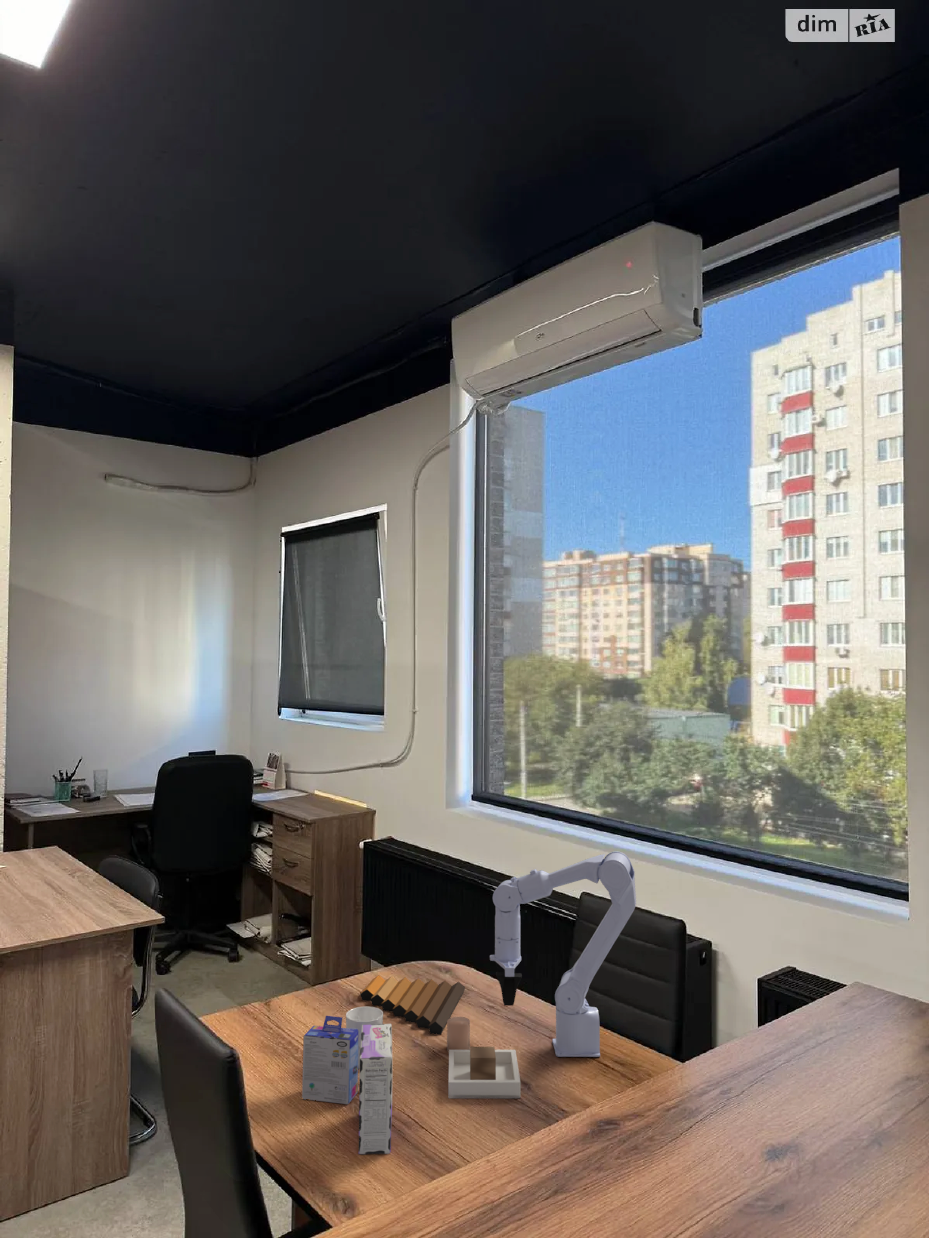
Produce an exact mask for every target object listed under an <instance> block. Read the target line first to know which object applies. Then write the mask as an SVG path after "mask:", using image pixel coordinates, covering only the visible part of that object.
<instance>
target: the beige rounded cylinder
mask: <svg viewBox="0 0 929 1238" xmlns="http://www.w3.org/2000/svg"><path fill="white" fill-rule="evenodd" d="M470 1047H471V1020H470V1019H469V1018H467V1017H466V1016H465V1017H464V1016H453V1017H452V1016H451V1017H450V1019H448V1020H447V1024H446V1051H447V1052H448V1053H449V1050H470Z"/></svg>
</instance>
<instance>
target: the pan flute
mask: <svg viewBox="0 0 929 1238" xmlns="http://www.w3.org/2000/svg"><path fill="white" fill-rule="evenodd" d="M465 989H466V986H465V985H464V984H462V983H461V982H460V981H457V982H456V983H454V984H452V985H451V984H450V983H449V982H448V981H446V980H444V981H442V982H440V983H439V984H438V983H437V982H436V981H434V980H433V979H430V980H428V981H427V982H423V981H422V980H421V978H419V977H418V978H417V979H415V980H414V981H410V980H409V979H408V977H403V978H402V979H399V981H398V980H397V979H396V978H395V977H394V976H393V975H391V976H390V977H389V978H387V979H384V978H383V977H382V976H381V975H380V974H379V975H377V976H375V977H374V978H373V979H371V980H370V982H369V983H368V984H367V985H366V987H364V989H363V990H362V991H361V992H360V994H359V995H360V999H361V1001H367V1002H371V1005H372V1007H381V1008H382V1012H392V1013H393V1015H394V1017H397V1016H398V1017H399V1018H404V1019H405V1022H406V1023H412V1024H413V1023H415V1024H416V1027H417V1028H418V1029H426V1030H427V1029H428V1031H429V1034H430V1035H439V1036H441V1035H442V1033H444V1032H443V1031H444V1030H445V1029H446V1027H447V1020H448V1019H450V1018H452V1015H453V1013H454V1011H455V1010H456V1008H457V1006H458V1004H459V1003H460V1001H461V998H462V996H463V995H464V993H465Z"/></svg>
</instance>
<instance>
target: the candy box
mask: <svg viewBox="0 0 929 1238" xmlns="http://www.w3.org/2000/svg"><path fill="white" fill-rule="evenodd" d="M392 1028H393V1026H392V1023H383V1024H375V1025H362V1030H361V1043H360V1068H359V1069H358V1073H359V1074H358V1079H359V1080H358V1083H359V1084H358V1088H359V1089H358V1090H359V1091H358V1093H359V1095H358V1098H359V1099H358V1101H359V1102H358V1147H357V1148H358V1153H357V1154H358V1155H390V1153H391V1151H392V1120H393V1119H392V1117H393V1116H392V1115H393V1032H392V1031H393V1029H392Z"/></svg>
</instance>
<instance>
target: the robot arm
mask: <svg viewBox="0 0 929 1238" xmlns="http://www.w3.org/2000/svg"><path fill="white" fill-rule="evenodd" d="M635 872H636V871H635V869H634V866H633V864H632V862H631V860H630V858H629V856H628V855H627V854H625V853H624V852H621V851H617V850H616V851H611V852H608V854H606V853H602V854H598V855H596V856H592V857H589V858H587V859H586V858H585V859H584V860H580V861H578V862H576V863H573V864H570V865H567V866H565V867H562V868H560V869H558V870H554V871H552V872H547V871H545V870H542V869H541V870H537V868H533V869H531V870H530V871H529V874H525V875H523V876H520V877H516V876H513V877H510V879H507V880H504V881H502V882H501V883H500V884H499V885H498V886H497V887H496V889H495V890H494V891H493V894H492V902H493V904H494V906H495V915H494V954H490V955H489V960H490V962H491V961H492V962H494V963H495V966H496V968H497V971H496V972H495V977H496V980H497V981H498V983H499V986H500V990H501V997H502V1002H503V1006H504V1007H505V1006H507V1007H508V1006H512V1007H513V1006H514V1004H515V1001H516V995H517V991H518V987H519V984H520V982H521V980H522V977H523V975H522V973H521V972H518V973H517V972H516V969H517V966H518V965H519V964H520V962H521V961H522V956H521V911H520V910H521V906H520V905H521V904H522V905H523V904H524V905H525V904H529V903H531V902H534V901H538V900H541V899H544V898H548V897H549V896H551V894H552V893H553V890H554V888H557V887H561V886H564V885H569V884H572V883H575V882H579V881H582V880H588V881H590V882H592V883H595V884H599V881H600V882H601V883H602V885H603V886H604V888H605V889H606V891H607V892H608V895H609V897H610V901H611V905H610V906H609V908H608V910H607V912H606V913H605V915H604V917H603V919H601V921H600V923H599V925H598V926H597V928H596V930H595V932H594V933H593V935H592V937H591V938H590V940H589V941H588V943H587V945H586V946H585V948H584V950H583V951H582V953H581V955H580V956H579V958H578V959H577V961H576V962H575V963H574V965H573V967H571V969H569V970H567V971H566V972H564V973H563V975H562V976H561V980H560V982H559V984H558V985H559V986H557V989H555V992H554V993H555V994H554V1000H555V1038H552V1040H551V1041H552V1045H553V1048H554V1053H555V1057H559V1058H561V1057H564V1058H566V1057H571V1058H574V1057H576V1058H577V1057H579V1058H580V1057H583V1058H586V1057H589V1058H591V1057H593V1058H598V1057H601V1051H600V1048H601V1045H600V1043H601V1041H600V1039H601V1038H600V1037H601V1034H600V1031H601V1030H600V1015H599V1010H598V1008H597V1007H595V1006H590V1005H589V1003H588V1001H587V999H586V996H587V993H588V991H589V989H590V988H589V987H590V985H591V983H592V981H593V979H594V977H595V975H596V974H597V972H598V971H599V969H600V968H601V965H602V964H603V962H604V960H605V959H606V957H607V955H608V954H609V952H610V950H611V949H612V947H613V945H614V944H615V942H616V941H617V939H618V937H619V936H620V934H621V933H622V931H623V929H624V928H625V926H626V924H627V923H628V921H629V920H630V918H631V916H632V915H633V913H634V911H635V908H636V905H637V896H636V895H637V894H636V882H635V881H636V878H635V876H636V875H635V874H636V873H635Z"/></svg>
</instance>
